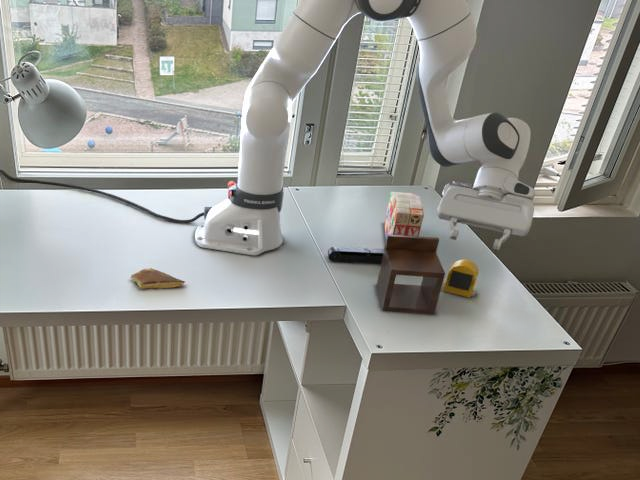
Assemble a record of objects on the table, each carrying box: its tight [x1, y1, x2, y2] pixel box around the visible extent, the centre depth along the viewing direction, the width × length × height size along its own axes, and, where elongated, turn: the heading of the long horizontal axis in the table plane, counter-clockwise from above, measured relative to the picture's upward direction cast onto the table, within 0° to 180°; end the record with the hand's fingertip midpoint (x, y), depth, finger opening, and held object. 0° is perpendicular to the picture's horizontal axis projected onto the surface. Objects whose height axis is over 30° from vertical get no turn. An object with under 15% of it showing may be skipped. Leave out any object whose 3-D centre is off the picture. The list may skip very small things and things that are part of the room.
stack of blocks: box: [384, 191, 425, 240], centre depth 176 cm, size 21×6×12 cm, turn 168°
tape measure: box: [442, 259, 479, 299], centre depth 156 cm, size 7×4×7 cm, turn 60°
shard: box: [130, 267, 186, 290], centre depth 157 cm, size 11×8×2 cm
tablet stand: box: [327, 246, 384, 265], centre depth 169 cm, size 18×3×3 cm, turn 86°
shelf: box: [376, 234, 446, 315], centre depth 150 cm, size 11×11×13 cm
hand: (474, 243), depth 157 cm, fingers open, 8 cm apart
